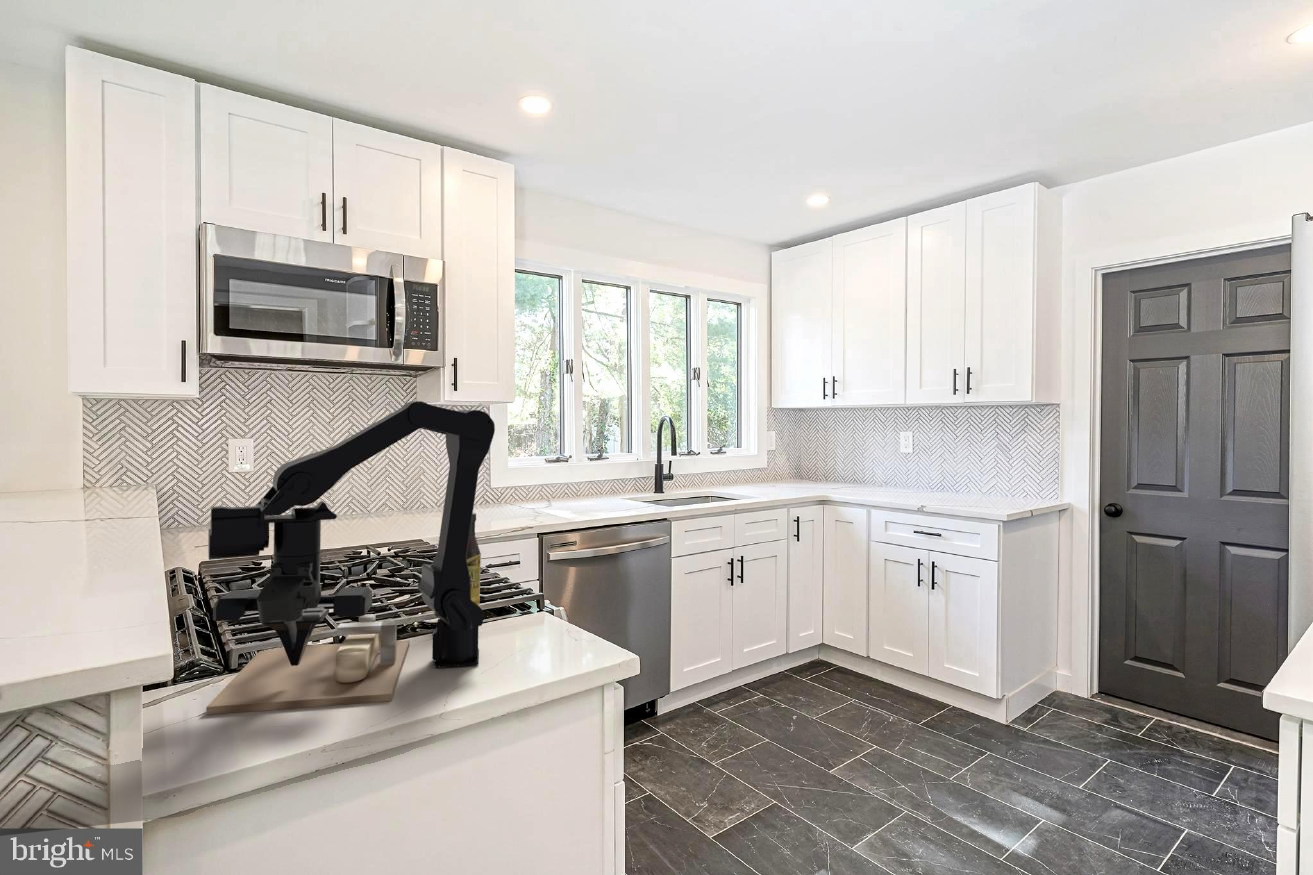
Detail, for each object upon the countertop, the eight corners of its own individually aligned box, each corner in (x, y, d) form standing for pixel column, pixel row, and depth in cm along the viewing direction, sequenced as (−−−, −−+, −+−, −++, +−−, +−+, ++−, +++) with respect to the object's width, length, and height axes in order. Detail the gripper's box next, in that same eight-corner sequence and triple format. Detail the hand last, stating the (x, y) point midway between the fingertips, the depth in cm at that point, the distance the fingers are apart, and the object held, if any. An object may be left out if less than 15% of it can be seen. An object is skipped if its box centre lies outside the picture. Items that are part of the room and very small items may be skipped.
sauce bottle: (469, 621, 125) (471, 516, 125) (439, 619, 126) (440, 514, 126) (485, 612, 132) (487, 511, 131) (456, 609, 133) (458, 510, 132)
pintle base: (409, 645, 112) (410, 604, 111) (391, 700, 90) (392, 649, 90) (262, 654, 106) (263, 610, 106) (206, 714, 85) (206, 660, 85)
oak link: (353, 643, 108) (353, 622, 108) (386, 641, 109) (386, 620, 109) (328, 683, 92) (328, 658, 92) (367, 681, 93) (367, 656, 93)
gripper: (194, 567, 82) (192, 692, 83) (356, 564, 86) (354, 684, 87) (231, 549, 93) (229, 660, 94) (373, 547, 97) (372, 653, 98)
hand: (295, 664), depth 93 cm, fingers closed
